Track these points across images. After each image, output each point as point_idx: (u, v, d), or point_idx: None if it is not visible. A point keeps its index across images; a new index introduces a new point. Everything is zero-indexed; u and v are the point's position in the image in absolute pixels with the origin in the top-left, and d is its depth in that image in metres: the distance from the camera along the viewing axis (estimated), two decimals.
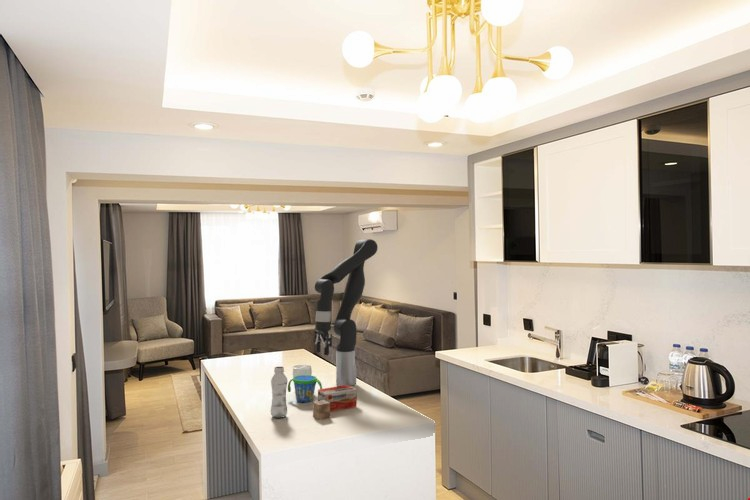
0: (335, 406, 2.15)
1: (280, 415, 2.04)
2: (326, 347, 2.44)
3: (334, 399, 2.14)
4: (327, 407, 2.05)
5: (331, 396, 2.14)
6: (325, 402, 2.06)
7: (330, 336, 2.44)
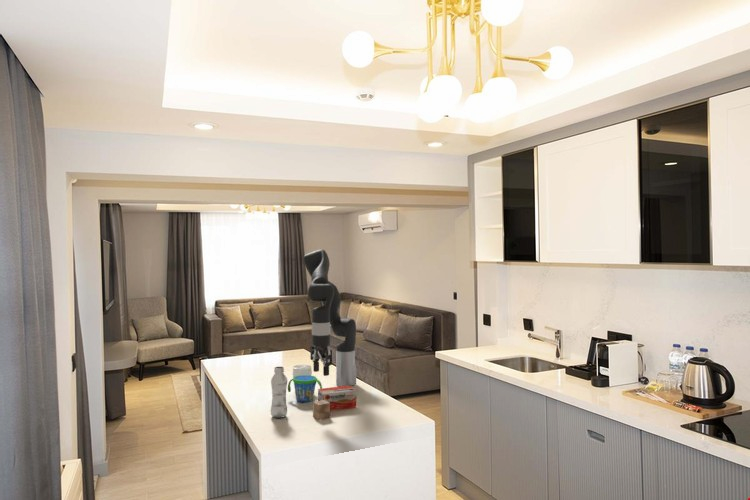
0: (333, 406, 2.15)
1: (280, 415, 2.04)
2: (326, 366, 2.02)
3: (332, 399, 2.14)
4: (327, 407, 2.05)
5: (329, 396, 2.14)
6: (325, 402, 2.06)
7: (330, 353, 2.01)
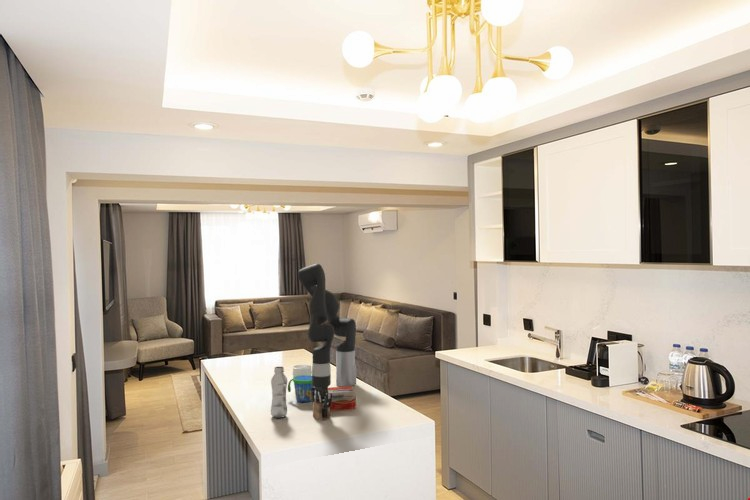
0: (331, 406, 2.15)
1: (280, 415, 2.04)
2: (324, 408, 2.03)
3: None
4: None
5: None
6: None
7: (330, 397, 2.01)
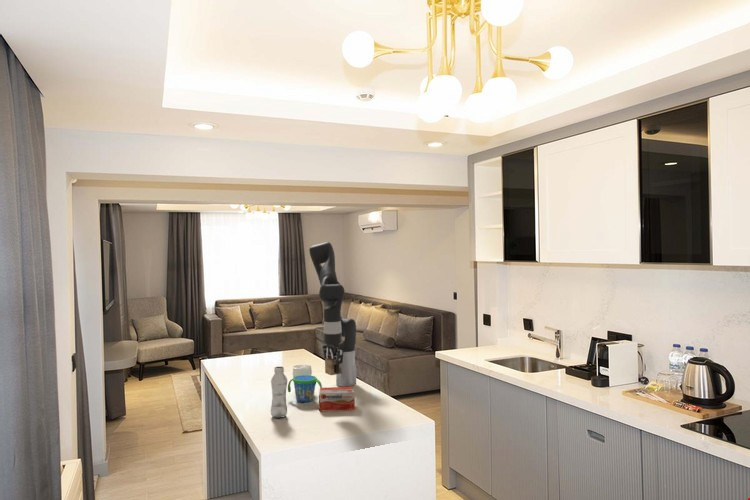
0: (330, 406, 2.15)
1: (280, 415, 2.04)
2: (336, 364, 2.12)
3: (328, 399, 2.15)
4: None
5: (325, 395, 2.14)
6: None
7: (341, 353, 2.10)
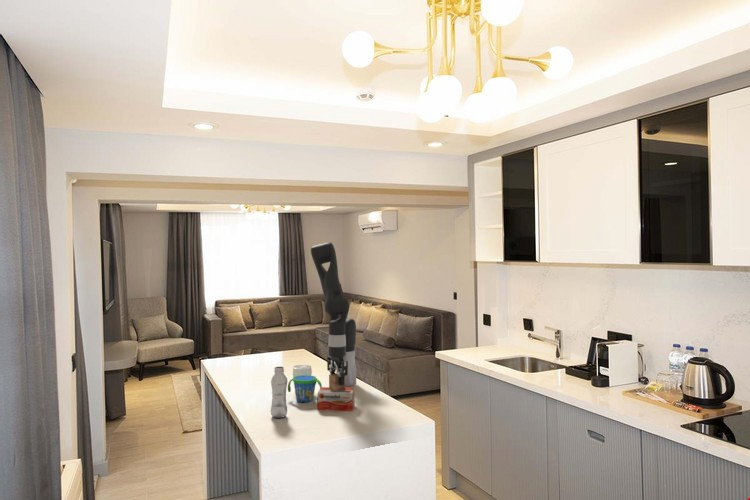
0: (328, 406, 2.15)
1: (280, 415, 2.04)
2: (341, 376, 2.15)
3: (326, 399, 2.15)
4: None
5: (323, 395, 2.15)
6: None
7: (346, 364, 2.14)
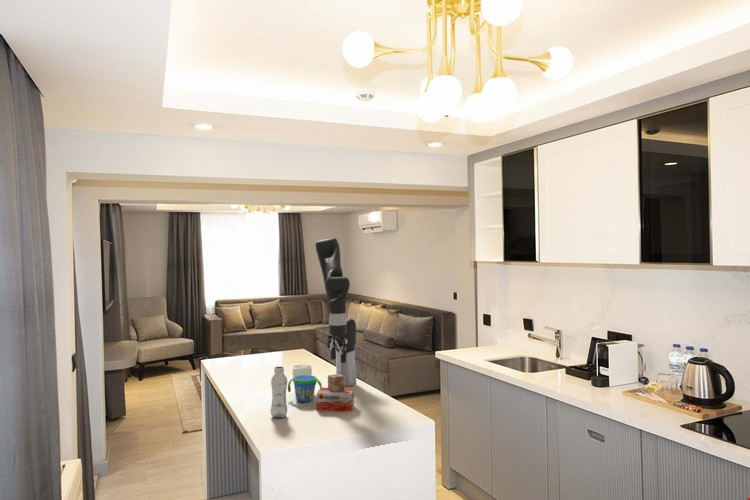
0: (327, 406, 2.14)
1: (280, 415, 2.04)
2: (343, 354, 2.15)
3: (326, 399, 2.14)
4: (341, 380, 2.18)
5: (323, 396, 2.14)
6: (339, 375, 2.19)
7: (347, 341, 2.14)
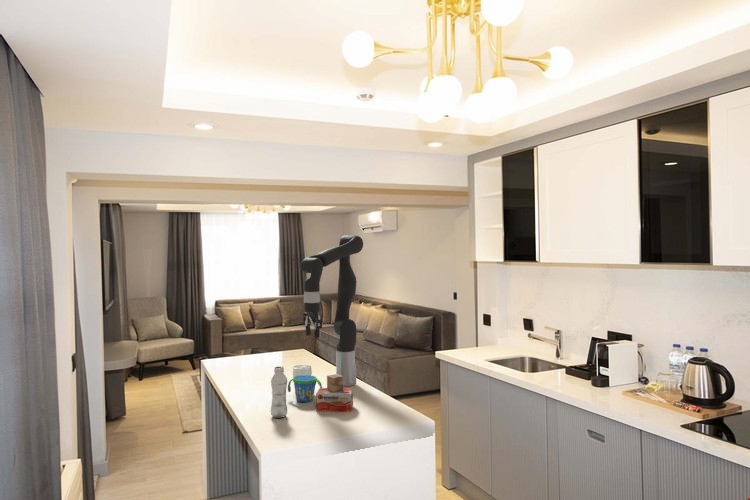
0: (326, 407, 2.14)
1: (280, 415, 2.04)
2: (316, 329, 2.30)
3: (325, 400, 2.14)
4: (340, 380, 2.17)
5: (322, 396, 2.14)
6: (339, 375, 2.18)
7: (320, 317, 2.30)
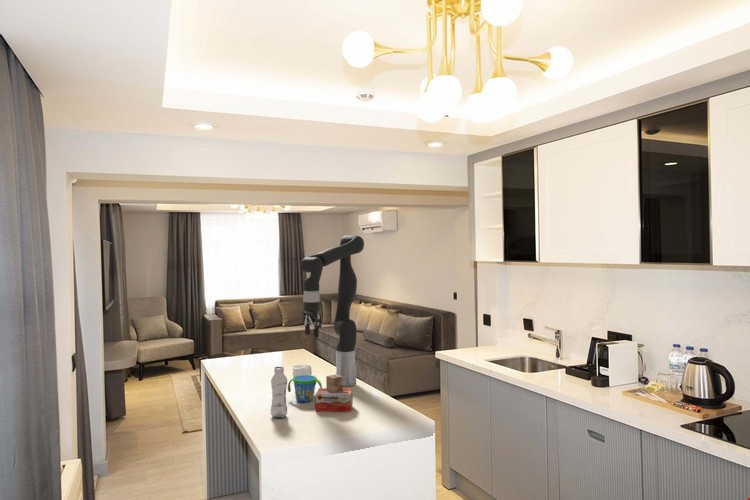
0: (326, 407, 2.13)
1: (280, 415, 2.04)
2: (315, 329, 2.30)
3: (324, 400, 2.13)
4: (340, 380, 2.17)
5: (321, 396, 2.13)
6: (338, 376, 2.18)
7: (319, 317, 2.30)
